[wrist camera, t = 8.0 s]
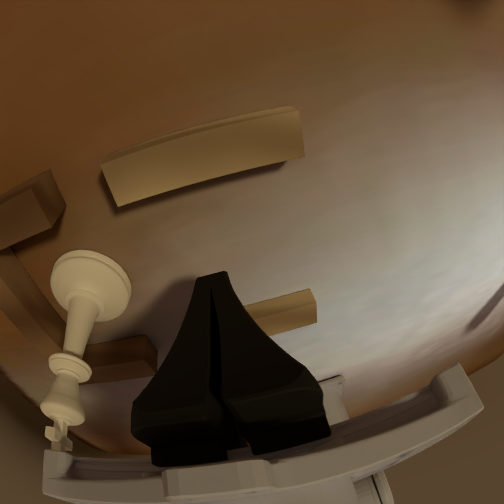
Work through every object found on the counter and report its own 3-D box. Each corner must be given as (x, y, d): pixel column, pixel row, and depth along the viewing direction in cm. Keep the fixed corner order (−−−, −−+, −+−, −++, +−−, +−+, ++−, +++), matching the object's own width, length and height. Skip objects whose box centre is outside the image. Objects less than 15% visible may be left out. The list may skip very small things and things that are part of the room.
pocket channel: (311, 308, 20) (317, 322, 19) (195, 338, 19) (196, 353, 18) (289, 105, 11) (298, 110, 11) (107, 155, 11) (100, 165, 10)
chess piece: (123, 247, 14) (91, 447, 6) (137, 313, 17) (132, 477, 9) (42, 250, 13) (-23, 421, 5) (66, 313, 16) (37, 463, 8)
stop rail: (157, 350, 20) (157, 375, 18) (80, 363, 19) (76, 385, 18) (49, 169, 11) (31, 187, 9) (-33, 216, 11) (-50, 236, 9)
